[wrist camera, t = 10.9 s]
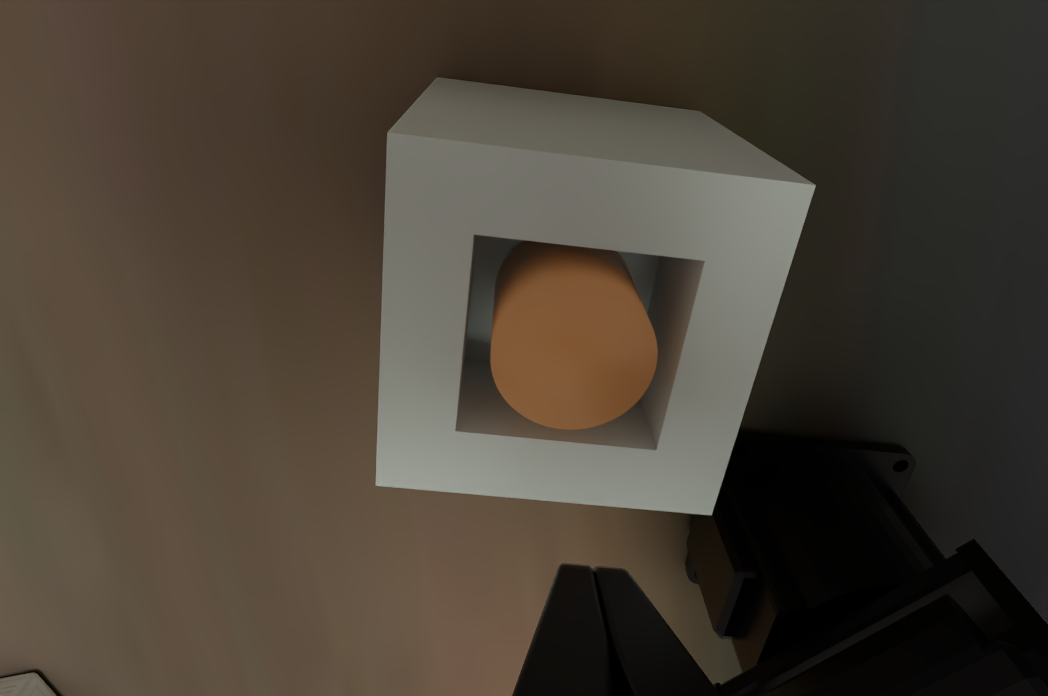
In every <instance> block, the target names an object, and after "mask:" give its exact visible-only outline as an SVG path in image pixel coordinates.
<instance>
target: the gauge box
mask: <svg viewBox="0 0 1048 696" xmlns="http://www.w3.org/2000/svg"><path fill="white" fill-rule="evenodd" d="M815 186H816V185H815V184H813V183H812V182H810V181H809V180H807V179H805V178H804V177H802V176H801V175H799V174H798V173H796V172H794V171H793V170H791V169H790V168H788V167H787V166H785V165H783V164H782V163H780V162H779V161H777V160H776V159H774V158H772V157H771V156H769V155H768V154H766V153H765V152H763V151H761V150H760V149H758V148H757V147H755V146H754V145H752V144H750V143H749V142H747V141H746V140H744V139H743V138H741V137H739V136H738V135H736V134H735V133H733V132H732V131H730V130H729V129H727V128H725V127H724V126H722V125H721V124H719V123H718V122H716V121H714V120H713V119H711V118H710V117H708V116H707V115H705V114H703V113H702V112H700V111H696V110H688V109H680V108H672V107H665V106H657V105H649V104H642V103H634V102H626V101H618V100H611V99H603V98H595V97H587V96H580V95H572V94H564V93H556V92H549V91H541V90H533V89H526V88H518V87H510V86H502V85H495V84H487V83H479V82H471V81H464V80H456V79H448V78H440V77H437V78H436V79H435V80H434V81H433V82H432V83H431V84H430V85H429V86H428V88H427V89H426V90H425V91H424V92H423V93H422V94H421V95H420V96H419V98H418V99H417V100H416V101H415V102H414V103H413V104H412V105H411V106H410V108H409V109H408V110H407V111H406V112H405V113H404V114H403V115H402V117H401V118H400V119H399V120H398V121H397V122H396V123H395V124H394V125H393V127H392V128H391V129H390V130H389V131H388V132H387V156H386V186H385V217H384V247H383V278H382V308H381V339H380V369H379V400H378V430H377V461H376V486H385V487H396V488H408V489H419V490H430V491H442V492H453V493H464V494H475V495H487V496H498V497H509V498H521V499H532V500H543V501H554V502H566V503H577V504H588V505H600V506H611V507H622V508H633V509H645V510H656V511H667V512H679V513H690V514H701V515H712V513H713V509H714V506H715V503H716V500H717V497H718V494H719V490H720V487H721V484H722V481H723V478H724V475H725V471H726V468H727V465H728V462H729V459H730V456H731V452H732V449H733V446H734V443H735V440H736V437H737V433H738V430H739V427H740V424H741V421H742V418H743V414H744V411H745V408H746V405H747V402H748V399H749V395H750V392H751V389H752V386H753V383H754V380H755V376H756V373H757V370H758V367H759V364H760V361H761V357H762V354H763V351H764V348H765V345H766V342H767V338H768V335H769V332H770V329H771V326H772V323H773V319H774V316H775V313H776V310H777V307H778V304H779V300H780V297H781V294H782V291H783V288H784V285H785V281H786V278H787V275H788V272H789V269H790V266H791V262H792V259H793V256H794V253H795V250H796V247H797V243H798V240H799V237H800V234H801V231H802V228H803V224H804V221H805V218H806V215H807V212H808V209H809V205H810V202H811V199H812V196H813V193H814V190H815ZM525 240H526V241H535V242H544V243H552V244H561V245H570V246H579V247H587V248H596V249H605V250H614V251H618V252H619V254H620V255H621V256H622V258H623V259H624V261H625V263H626V265H627V267H628V269H629V272H630V274H631V277H632V279H633V282H634V284H635V286H636V289H637V291H638V294H639V296H640V298H641V301H642V303H643V306H644V308H645V310H646V313H647V315H648V318H649V320H650V322H651V325H652V327H653V330H654V333H655V336H656V340H657V348H658V359H657V365H656V370H655V373H654V376H653V379H652V381H651V383H650V385H649V387H648V388H647V390H646V391H645V393H644V395H643V396H642V397H641V398H640V399H639V400H638V402H637V403H636V404H635V405H633V406H632V407H631V408H630V409H629V410H628V411H626V412H625V413H623V414H622V415H621V416H619V417H617V418H615V419H613V420H611V421H609V422H607V423H604V424H602V425H598V426H595V427H591V428H585V429H575V430H567V429H556V428H551V427H547V426H543V425H540V424H538V423H535V422H533V421H531V420H529V419H527V418H525V417H524V416H522V415H521V414H519V413H518V412H517V411H515V410H514V409H513V408H512V407H511V406H510V405H509V404H508V403H507V402H506V400H505V399H504V398H503V397H502V395H501V393H500V392H499V390H498V388H497V386H496V384H495V381H494V379H493V375H492V371H491V362H490V357H491V339H492V323H493V307H494V291H495V283H496V278H497V275H498V272H499V270H500V268H501V266H502V264H503V262H504V261H505V259H506V258H507V256H508V255H509V254H510V253H511V252H512V250H513V249H514V248H516V247H517V246H518V245H519V244H520V243H522V242H523V241H525Z"/></svg>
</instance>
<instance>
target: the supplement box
mask: <svg viewBox="0 0 1048 696" xmlns="http://www.w3.org/2000/svg"><path fill="white" fill-rule="evenodd" d="M0 696H57V695H56V694H55V693H54V692H53V691H52V690H51V689H50V688H49V687H48V685H47V684H46V683H45V682H44V681H43V680H42V679H41V677H40V676H39V675H38V674H37V673H27V674H21V675H17V676H11V677H6V678H1V679H0Z"/></svg>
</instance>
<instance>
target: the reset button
mask: <svg viewBox="0 0 1048 696" xmlns="http://www.w3.org/2000/svg"><path fill="white" fill-rule="evenodd" d="M657 359H658V348H657V340H656V336H655V333H654V330H653V327H652V325H651V322H650V320H649V318H648V315H647V313H646V310H645V308H644V306H643V303H642V301H641V298H640V296H639V294H638V291H637V289H636V286H635V284H634V282H633V279H632V277H631V274H630V272H629V269H628V267H627V265H626V263H625V261H624V259H623V258H622V256H621V255H620V254H619V252H618V251H614V250H605V249H596V248H587V247H579V246H570V245H561V244H552V243H544V242H535V241H526V240H525V241H523V242H522V243H520V244H519V245H518V246H517V247H516V248H514V249H513V250H512V252H511V253H510V254H509V255H508V256H507V258H506V259H505V261H504V262H503V264H502V266H501V268H500V270H499V272H498V275H497V278H496V283H495V291H494V307H493V323H492V339H491V357H490V362H491V371H492V375H493V379H494V381H495V384H496V386H497V388H498V390H499V392H500V393H501V395H502V397H503V398H504V399H505V400H506V402H507V403H508V404H509V405H510V406H511V407H512V408H513V409H514V410H515V411H517V412H518V413H519V414H521V415H522V416H524V417H525V418H527V419H529V420H531V421H533V422H535V423H538V424H540V425H543V426H547V427H551V428H556V429H567V430H575V429H585V428H591V427H595V426H598V425H602V424H604V423H607V422H609V421H611V420H613V419H615V418H617V417H619V416H621V415H622V414H623V413H625V412H626V411H628V410H629V409H630V408H631V407H632V406H633V405H635V404H636V403H637V402H638V400H639V399H640V398H641V397H642V396H643V395H644V393H645V391H646V390H647V388H648V387H649V385H650V383H651V381H652V379H653V376H654V373H655V370H656V365H657Z"/></svg>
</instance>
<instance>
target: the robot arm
mask: <svg viewBox="0 0 1048 696" xmlns="http://www.w3.org/2000/svg"><path fill="white" fill-rule="evenodd" d="M738 445H745V446H744V447H743V448H742V449H740V450H734V449H735V447H737V446H738ZM899 460H901V462H900V463H898V464H896V465H894V464H895V462H897V461H899ZM915 464H916V462H915V458H914V457H913V456H912V455H911V454H910V453H909V451H907V450H906V449H905V448H902V447H895V446H885V445H875V444H864V443H854V442H844V441H834V440H823V439H813V438H803V437H793V436H782V435H772V434H762V433H751V432H738V433H737V437H736V440H735V443H734V446H733V449H732V452H731V456H730V459H729V462H728V465H727V468H726V471H725V475H724V478H723V481H722V484H721V487H720V490H719V494H718V497H717V500H716V503H715V506H714V509H713V513H712V515H701V514H695V516H694V520H693V523H692V526H691V530H690V533H689V536H688V540H687V547H688V550H689V555H688V559H687V562H686V568H685V569H686V572H687V576H688V578H689V580H690V581H692V582H693V583H697V584H699V585H700V589H701V592H702V595H703V598H704V601H705V604H706V608H707V611H708V614H709V617H710V620H711V624H712V627H713V630H714V631H715V633H716V634H717V635H718V636H719V638H722V639H731V641H732V644H733V647H734V650H735V653H736V656H737V659H738V662H739V665H740V668H741V671H742V673H741V674H739V675H737V676H735V677H734V678H732V679H730V680H728V681H726V682H725V683H723V684H719V683H715V684H714V685H713V684H712V683H711V682H710V680H709V679H708V678H707V676H706V675H705V674H704V672H703V671H702V670H701V668H700V667H699V666H698V664H697V663H696V662H695V660H694V659H693V658H692V656H691V655H690V654H689V652H688V651H687V650H686V648H685V647H684V646H683V644H682V643H681V642H680V640H679V639H678V638H677V636H676V635H675V634H674V632H673V631H672V630H671V628H670V627H669V626H668V624H667V623H666V622H665V620H664V619H663V618H662V616H661V615H660V614H659V612H658V611H657V610H656V608H655V607H654V606H653V604H652V603H651V602H650V600H649V599H648V598H647V596H646V595H645V594H644V592H643V591H642V589H641V588H640V587H639V585H638V584H637V583H636V581H635V580H634V579H633V577H632V576H631V575H630V574H629V572H627V571H626V570H625V569H622V568H613V567H603V566H597V567H595V568H593V569H592V568H591V567H590V566H588V565H581V564H570V563H562V564H561V565H560V566H559V568H558V570H557V573H556V575H555V578H554V581H553V584H552V586H551V589H550V592H549V595H548V598H547V600H546V603H545V606H544V609H543V611H542V614H541V617H540V620H539V623H538V625H537V628H536V631H535V634H534V636H533V639H532V642H531V645H530V648H529V650H528V653H527V656H526V659H525V661H524V664H523V667H522V670H521V673H520V675H519V678H518V681H517V684H516V686H515V689H514V692H513V695H512V696H1048V624H1047V623H1046V622H1045V621H1044V620H1043V619H1042V618H1041V616H1040V615H1039V614H1038V613H1037V612H1036V611H1035V609H1034V608H1033V607H1032V606H1031V605H1030V604H1029V602H1028V601H1027V600H1026V599H1025V598H1024V597H1023V595H1022V594H1021V593H1020V592H1019V591H1018V590H1017V588H1016V587H1015V586H1014V585H1013V584H1012V583H1011V581H1010V580H1009V579H1008V578H1007V577H1006V576H1005V574H1004V573H1003V572H1002V571H1001V570H1000V569H999V567H998V566H997V565H996V564H995V563H994V562H993V560H992V559H991V558H990V557H989V556H988V555H987V553H986V552H985V551H984V550H983V549H982V548H981V546H980V545H979V544H978V543H977V542H976V541H975V540H974V539H973V540H971V541H969V542H967V543H966V544H964V545H962V546H960V547H959V548H957V549H955V550H956V551H957V552H958V553H956V554H954V555H952V556H951V557H949V558H947V559H945V557H944V556H943V555H942V553H941V552H940V551H939V549H938V548H937V547H936V545H935V544H934V543H933V542H932V540H931V539H930V538H929V536H928V535H927V534H926V532H925V531H924V530H923V528H922V527H921V526H920V525H919V523H918V522H917V521H916V519H915V518H914V517H913V515H912V514H911V513H910V511H909V510H908V509H907V507H906V506H905V505H904V504H903V502H902V501H901V500H900V498H901V496H902V494H903V492H904V490H905V487H906V485H907V483H908V481H909V479H910V477H911V475H912V472H913V470H914V468H915Z"/></svg>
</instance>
